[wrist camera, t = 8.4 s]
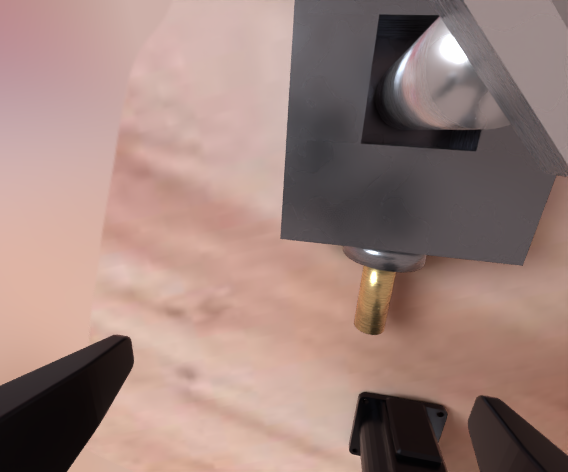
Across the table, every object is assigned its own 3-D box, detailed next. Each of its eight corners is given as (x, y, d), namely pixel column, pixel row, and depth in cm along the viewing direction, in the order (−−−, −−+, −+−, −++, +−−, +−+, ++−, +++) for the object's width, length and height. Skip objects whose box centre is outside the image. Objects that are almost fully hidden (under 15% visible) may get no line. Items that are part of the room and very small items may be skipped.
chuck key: (475, 121, 14) (696, 106, 6) (416, 165, 15) (528, 208, 7) (402, 13, 13) (536, -200, 5) (344, 69, 14) (368, -24, 6)
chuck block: (447, 314, 20) (483, 370, 15) (287, 293, 21) (274, 338, 16) (560, -67, 13) (689, -180, 8) (313, -63, 14) (304, -158, 10)
